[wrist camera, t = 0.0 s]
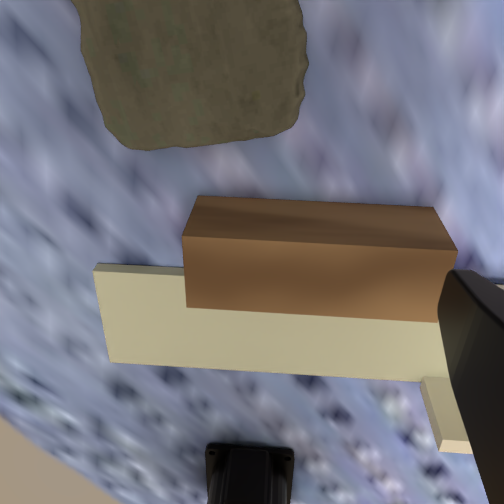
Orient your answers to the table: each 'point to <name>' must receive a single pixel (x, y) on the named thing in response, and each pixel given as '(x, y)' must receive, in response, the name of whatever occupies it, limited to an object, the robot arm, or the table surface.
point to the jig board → (253, 334)
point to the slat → (316, 258)
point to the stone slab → (194, 68)
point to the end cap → (445, 414)
